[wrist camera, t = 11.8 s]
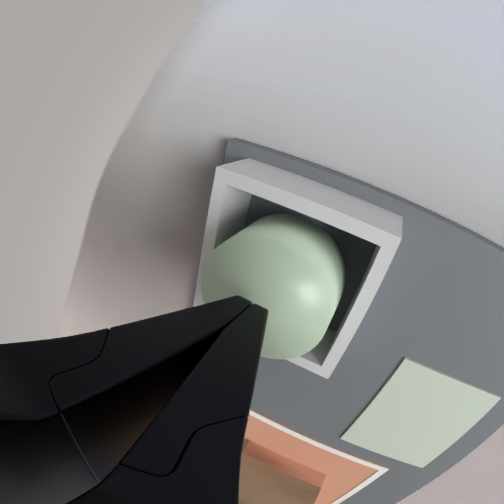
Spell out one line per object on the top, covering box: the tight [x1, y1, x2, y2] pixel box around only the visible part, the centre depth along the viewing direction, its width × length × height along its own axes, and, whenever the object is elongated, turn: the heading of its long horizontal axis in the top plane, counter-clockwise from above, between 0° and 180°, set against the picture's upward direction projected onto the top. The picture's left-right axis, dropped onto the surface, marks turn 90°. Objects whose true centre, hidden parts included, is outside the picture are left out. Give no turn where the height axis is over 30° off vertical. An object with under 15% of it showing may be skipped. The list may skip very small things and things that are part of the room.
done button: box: [201, 214, 346, 359], centre depth 9 cm, size 4×4×2 cm
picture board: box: [193, 138, 504, 504], centre depth 13 cm, size 23×15×3 cm, turn 166°
